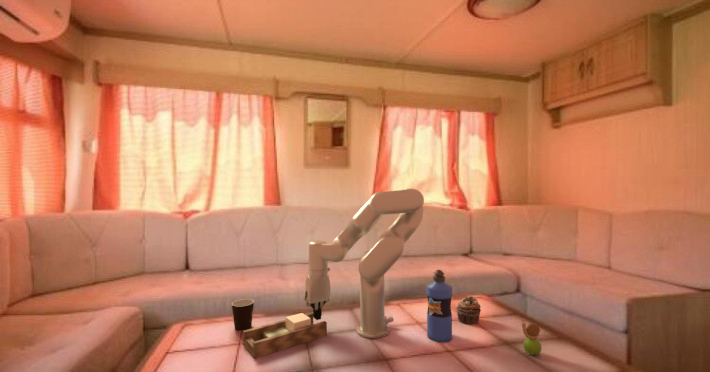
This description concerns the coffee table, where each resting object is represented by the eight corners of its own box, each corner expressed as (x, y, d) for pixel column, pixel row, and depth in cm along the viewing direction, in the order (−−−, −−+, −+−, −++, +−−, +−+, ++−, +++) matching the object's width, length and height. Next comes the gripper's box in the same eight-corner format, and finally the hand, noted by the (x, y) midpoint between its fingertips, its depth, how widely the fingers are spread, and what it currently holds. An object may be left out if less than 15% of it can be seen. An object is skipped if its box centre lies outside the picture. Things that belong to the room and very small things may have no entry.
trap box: (311, 324, 136) (311, 312, 136) (326, 335, 127) (326, 322, 127) (243, 344, 120) (243, 331, 120) (254, 358, 110) (254, 343, 110)
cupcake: (470, 315, 145) (470, 292, 145) (485, 324, 136) (485, 299, 136) (451, 318, 142) (451, 294, 142) (465, 327, 133) (465, 302, 133)
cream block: (302, 322, 131) (302, 312, 131) (310, 329, 125) (310, 318, 125) (285, 327, 127) (285, 317, 127) (294, 334, 121) (293, 323, 121)
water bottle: (435, 329, 131) (435, 266, 131) (457, 336, 125) (456, 270, 125) (422, 336, 125) (421, 270, 125) (444, 345, 118) (443, 275, 118)
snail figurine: (517, 350, 114) (516, 315, 114) (534, 349, 114) (534, 315, 114) (526, 359, 108) (526, 322, 108) (545, 358, 109) (545, 321, 109)
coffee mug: (247, 332, 130) (247, 307, 129) (227, 330, 131) (227, 305, 131) (261, 320, 141) (261, 297, 141) (243, 319, 143) (242, 296, 143)
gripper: (328, 267, 139) (328, 311, 139) (296, 273, 130) (295, 319, 130) (338, 271, 133) (338, 317, 133) (305, 277, 124) (304, 326, 124)
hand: (317, 318), depth 132 cm, fingers closed
